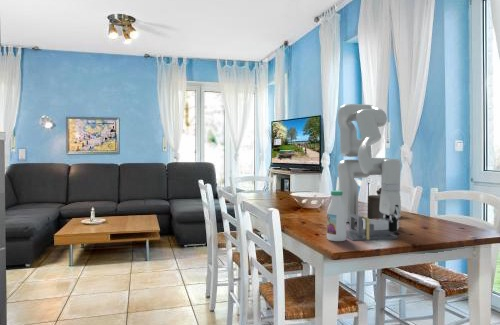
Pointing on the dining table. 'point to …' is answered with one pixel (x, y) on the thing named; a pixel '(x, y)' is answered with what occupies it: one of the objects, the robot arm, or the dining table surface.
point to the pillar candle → (374, 207)
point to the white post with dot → (380, 223)
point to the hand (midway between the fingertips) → (390, 229)
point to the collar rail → (366, 230)
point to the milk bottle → (336, 218)
